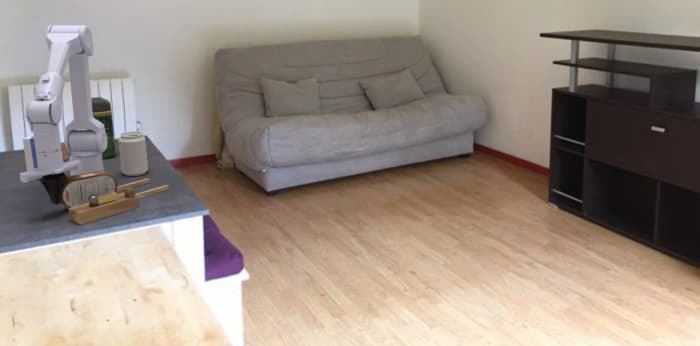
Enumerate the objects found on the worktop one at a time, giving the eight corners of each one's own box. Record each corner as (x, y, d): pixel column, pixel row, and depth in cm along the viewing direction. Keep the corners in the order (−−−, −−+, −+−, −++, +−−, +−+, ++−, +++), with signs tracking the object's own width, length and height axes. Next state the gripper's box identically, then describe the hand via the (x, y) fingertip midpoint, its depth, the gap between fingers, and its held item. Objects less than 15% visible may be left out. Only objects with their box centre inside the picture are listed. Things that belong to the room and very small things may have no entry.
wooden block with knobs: (69, 220, 168) (67, 200, 166) (128, 202, 180) (126, 184, 178) (80, 225, 165) (78, 205, 163) (139, 207, 176) (137, 188, 175)
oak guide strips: (99, 195, 185) (99, 191, 185) (147, 181, 196) (147, 178, 196) (120, 203, 179) (120, 199, 179) (169, 189, 190) (169, 185, 190)
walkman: (59, 174, 203) (53, 134, 199) (56, 177, 200) (50, 137, 196) (31, 175, 202) (25, 135, 198) (27, 178, 199) (21, 137, 196)
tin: (115, 197, 184) (112, 166, 181) (120, 200, 182) (117, 169, 179) (58, 210, 174) (53, 178, 172) (62, 213, 172) (58, 181, 169)
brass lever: (92, 207, 167) (91, 198, 167) (87, 204, 169) (86, 196, 168) (118, 199, 172) (118, 191, 172) (114, 197, 174) (113, 189, 173)
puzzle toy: (58, 156, 221) (56, 139, 220) (69, 159, 218) (67, 141, 216) (42, 160, 217) (39, 143, 215) (52, 163, 214) (50, 145, 212)
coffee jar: (118, 157, 220) (112, 99, 214) (92, 161, 216) (85, 102, 210) (113, 150, 228) (107, 94, 222) (87, 153, 224) (80, 96, 219)
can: (140, 177, 200) (137, 137, 196) (116, 176, 201) (112, 135, 198) (153, 170, 207) (149, 130, 203) (129, 168, 208) (125, 129, 205)
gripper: (26, 159, 159) (35, 215, 163) (85, 146, 170) (91, 199, 174) (12, 153, 163) (20, 208, 167) (70, 141, 174) (77, 193, 178)
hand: (55, 203), depth 171 cm, fingers closed
